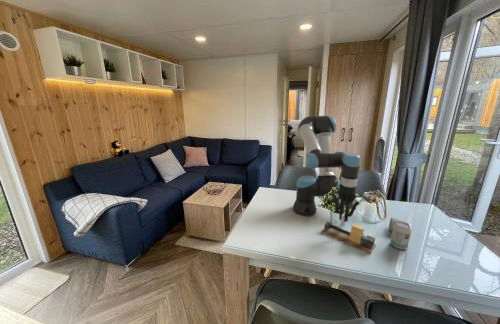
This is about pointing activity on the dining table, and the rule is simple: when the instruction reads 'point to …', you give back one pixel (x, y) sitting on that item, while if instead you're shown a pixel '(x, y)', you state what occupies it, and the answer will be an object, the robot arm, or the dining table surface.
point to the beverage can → (400, 235)
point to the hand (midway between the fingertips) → (342, 225)
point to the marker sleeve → (356, 233)
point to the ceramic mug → (393, 221)
